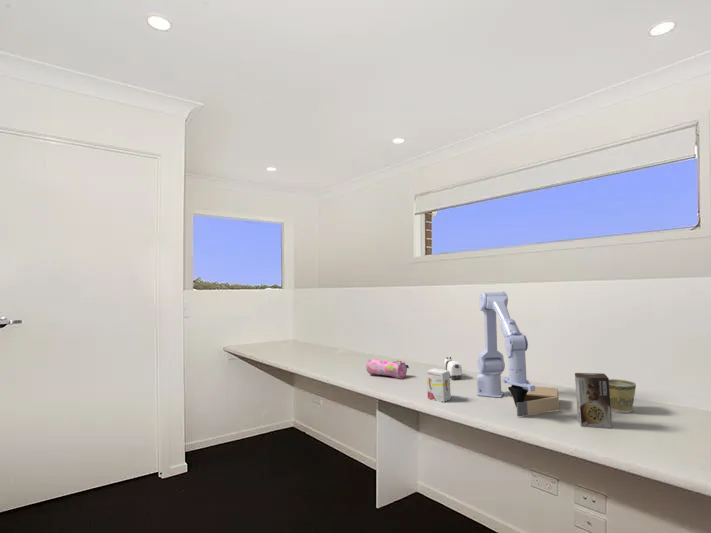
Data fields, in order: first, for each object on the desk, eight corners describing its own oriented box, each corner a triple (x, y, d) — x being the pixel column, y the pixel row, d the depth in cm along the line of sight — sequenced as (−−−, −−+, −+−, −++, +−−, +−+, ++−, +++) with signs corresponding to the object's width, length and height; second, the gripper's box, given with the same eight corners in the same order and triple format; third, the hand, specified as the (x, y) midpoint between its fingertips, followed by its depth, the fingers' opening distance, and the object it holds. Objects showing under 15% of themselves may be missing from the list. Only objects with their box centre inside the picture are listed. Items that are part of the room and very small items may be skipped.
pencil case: (409, 377, 213) (408, 359, 214) (400, 380, 206) (399, 362, 206) (375, 372, 226) (374, 355, 226) (365, 376, 219) (364, 358, 219)
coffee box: (607, 422, 138) (604, 373, 139) (612, 428, 132) (609, 377, 133) (577, 420, 141) (574, 372, 142) (580, 426, 135) (577, 376, 136)
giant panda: (463, 380, 202) (462, 360, 202) (452, 381, 201) (451, 361, 201) (451, 373, 216) (450, 355, 217) (441, 374, 215) (440, 355, 216)
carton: (517, 406, 159) (516, 392, 159) (520, 397, 169) (519, 385, 170) (557, 410, 152) (557, 396, 153) (558, 401, 163) (557, 388, 163)
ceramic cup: (626, 416, 143) (625, 387, 143) (598, 409, 151) (596, 381, 152) (648, 410, 149) (646, 382, 149) (619, 403, 157) (618, 376, 158)
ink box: (427, 398, 173) (425, 369, 174) (434, 396, 176) (433, 368, 177) (443, 402, 167) (442, 372, 167) (451, 400, 170) (450, 370, 170)
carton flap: (518, 416, 146) (517, 403, 146) (517, 416, 146) (516, 402, 147) (559, 409, 152) (558, 396, 152) (557, 409, 152) (557, 396, 152)
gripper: (541, 371, 143) (543, 411, 143) (513, 364, 157) (514, 400, 156) (524, 373, 141) (526, 414, 140) (497, 366, 155) (499, 402, 154)
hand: (519, 407), depth 148 cm, fingers closed
